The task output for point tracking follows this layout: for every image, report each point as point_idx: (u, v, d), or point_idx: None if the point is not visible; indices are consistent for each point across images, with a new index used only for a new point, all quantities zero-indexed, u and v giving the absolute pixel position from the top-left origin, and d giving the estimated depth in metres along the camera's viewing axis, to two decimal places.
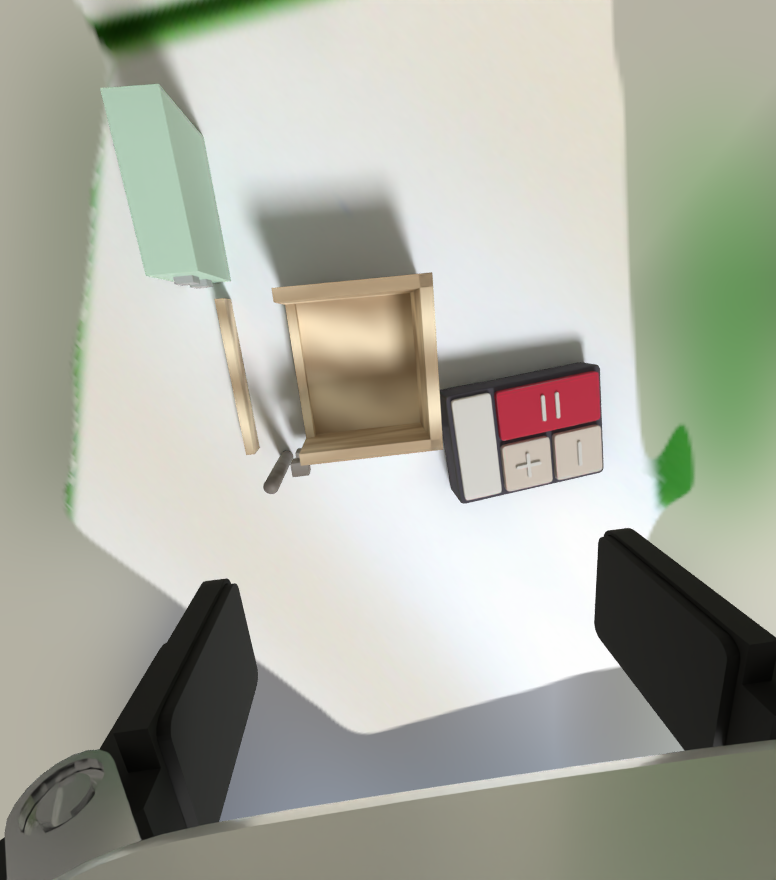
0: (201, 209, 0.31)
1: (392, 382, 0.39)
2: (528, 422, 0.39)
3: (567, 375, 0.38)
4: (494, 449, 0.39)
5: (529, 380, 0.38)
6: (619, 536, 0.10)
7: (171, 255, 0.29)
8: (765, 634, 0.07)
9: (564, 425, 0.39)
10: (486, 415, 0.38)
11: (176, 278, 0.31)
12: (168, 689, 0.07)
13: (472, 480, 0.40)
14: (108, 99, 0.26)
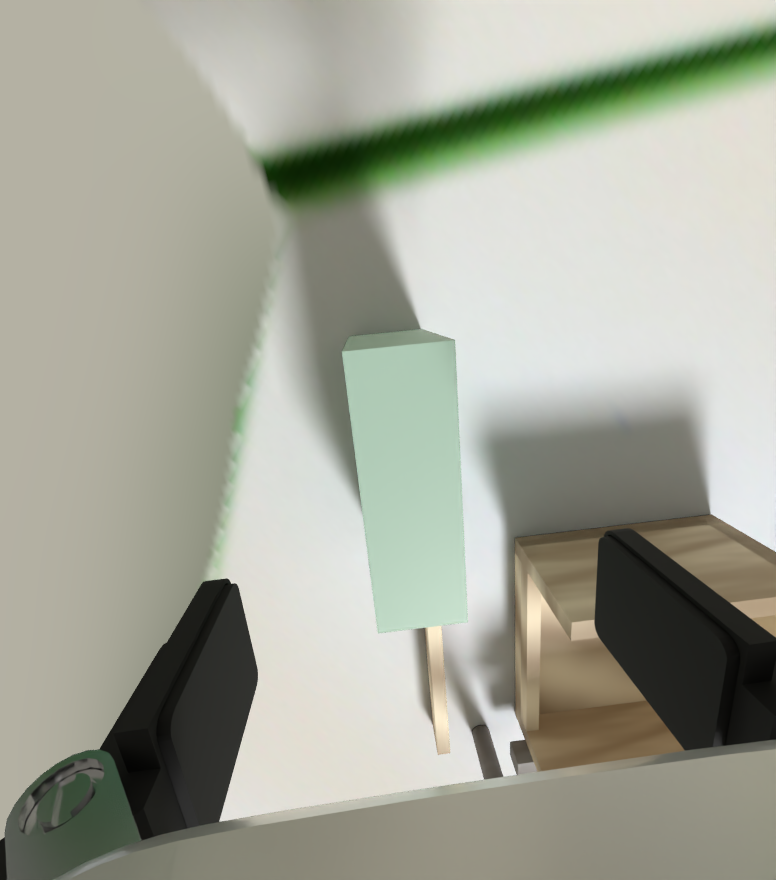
0: None
1: None
2: None
3: None
4: None
5: None
6: (619, 536, 0.10)
7: (427, 603, 0.16)
8: (765, 634, 0.07)
9: None
10: None
11: None
12: (168, 689, 0.07)
13: None
14: (354, 370, 0.13)
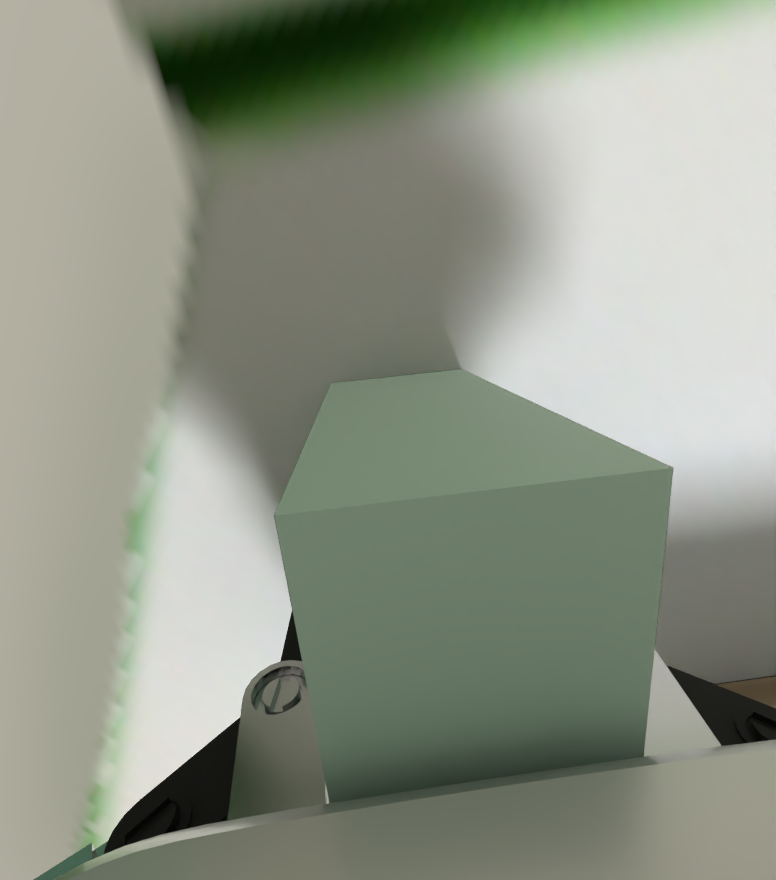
0: None
1: None
2: None
3: None
4: None
5: None
6: None
7: None
8: None
9: None
10: None
11: None
12: None
13: None
14: (322, 570, 0.04)
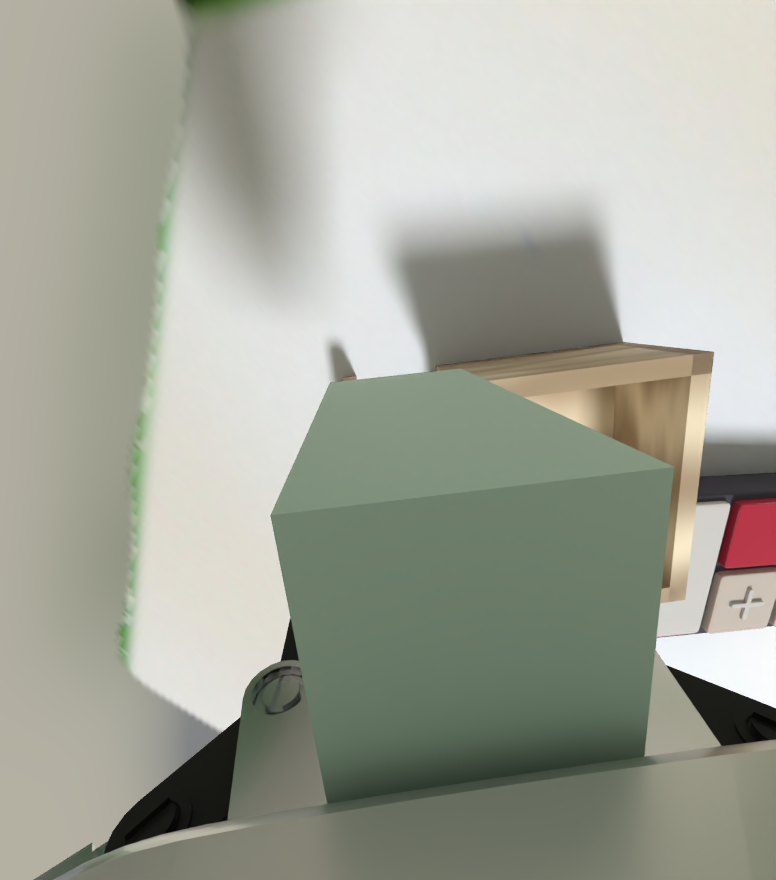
0: None
1: None
2: (766, 549, 0.27)
3: None
4: (709, 577, 0.28)
5: None
6: None
7: None
8: None
9: None
10: (715, 531, 0.27)
11: None
12: None
13: (667, 612, 0.28)
14: (319, 571, 0.04)
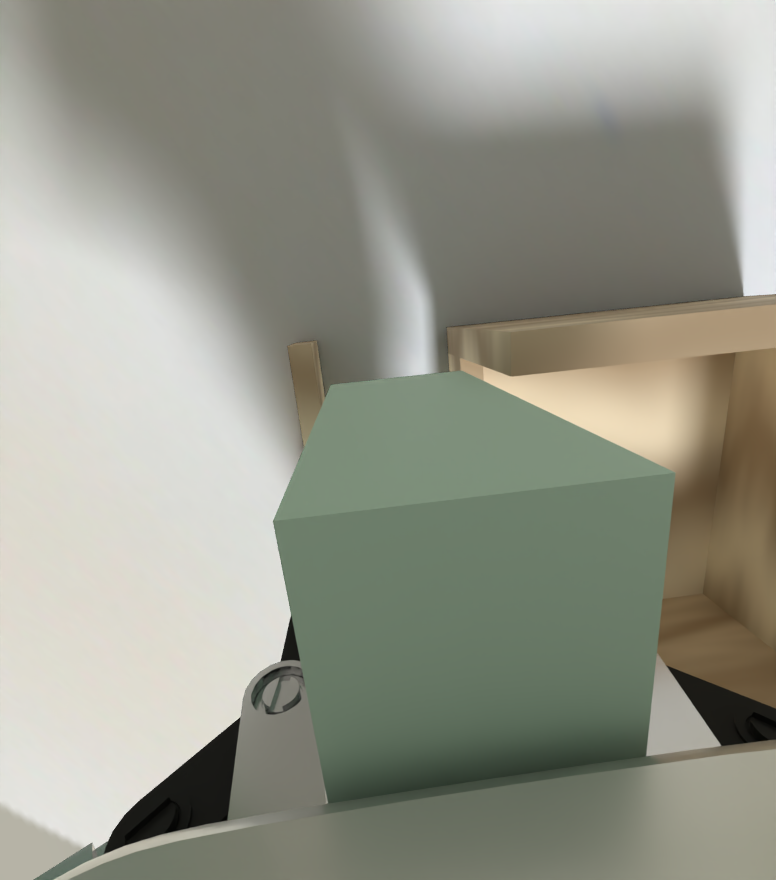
0: None
1: None
2: None
3: None
4: None
5: None
6: None
7: None
8: None
9: None
10: None
11: None
12: None
13: None
14: (322, 576, 0.04)
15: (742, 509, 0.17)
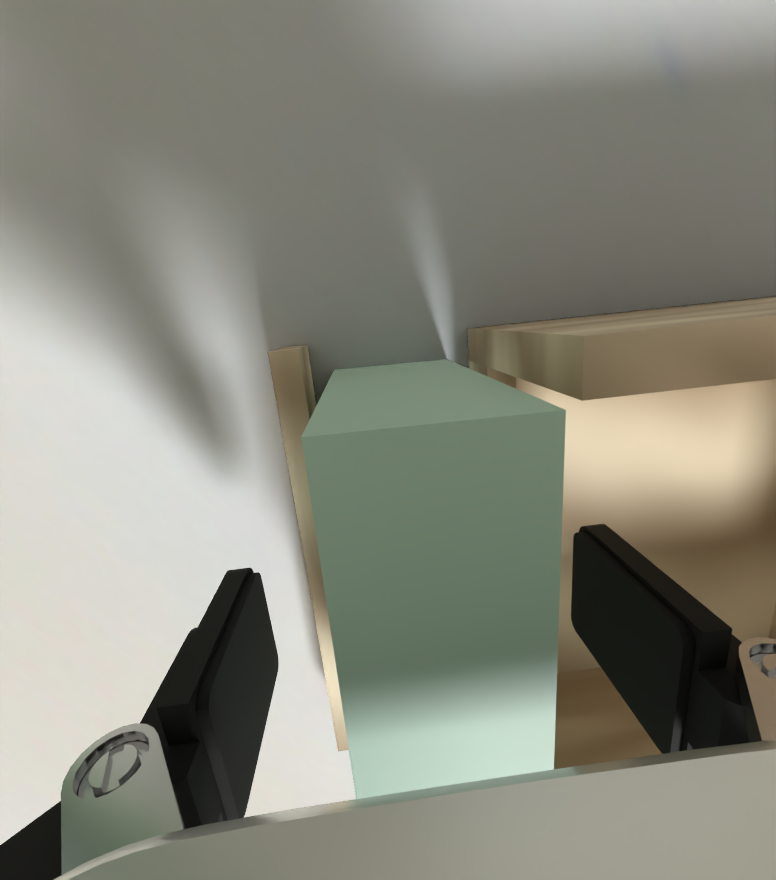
0: None
1: (724, 556, 0.15)
2: None
3: None
4: None
5: None
6: (592, 531, 0.10)
7: None
8: (719, 622, 0.07)
9: None
10: None
11: None
12: (204, 668, 0.07)
13: None
14: (332, 477, 0.06)
15: None
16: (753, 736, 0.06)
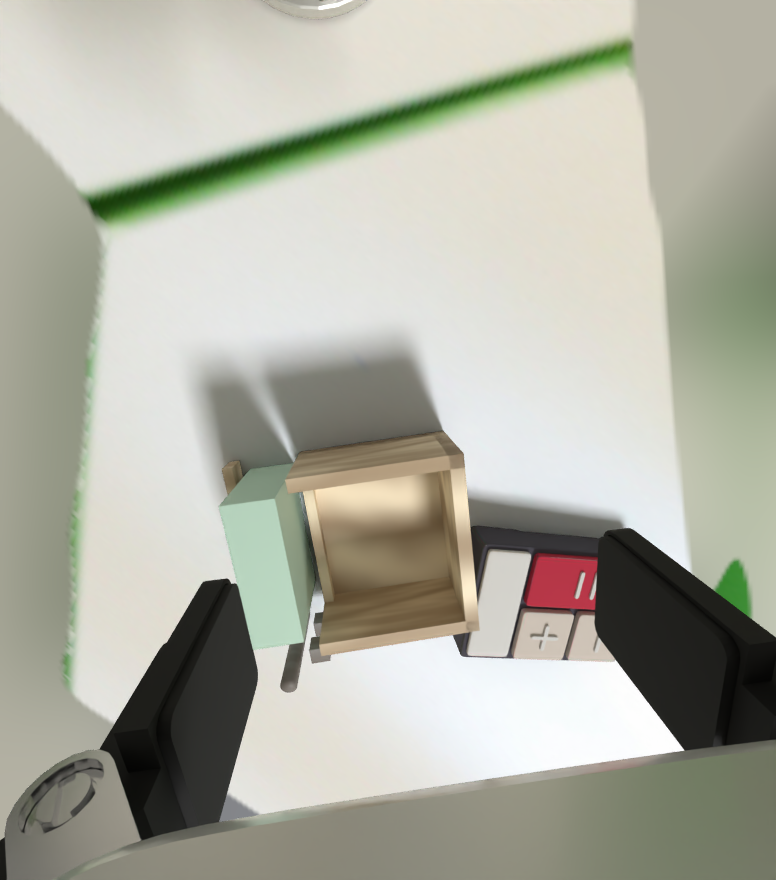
0: (299, 556, 0.32)
1: (417, 537, 0.36)
2: (559, 594, 0.35)
3: None
4: (515, 611, 0.35)
5: (575, 551, 0.35)
6: (619, 536, 0.10)
7: (279, 632, 0.29)
8: (765, 634, 0.07)
9: (593, 607, 0.36)
10: (519, 575, 0.34)
11: None
12: (168, 689, 0.07)
13: (481, 636, 0.36)
14: (226, 514, 0.27)
15: (446, 533, 0.34)
16: None
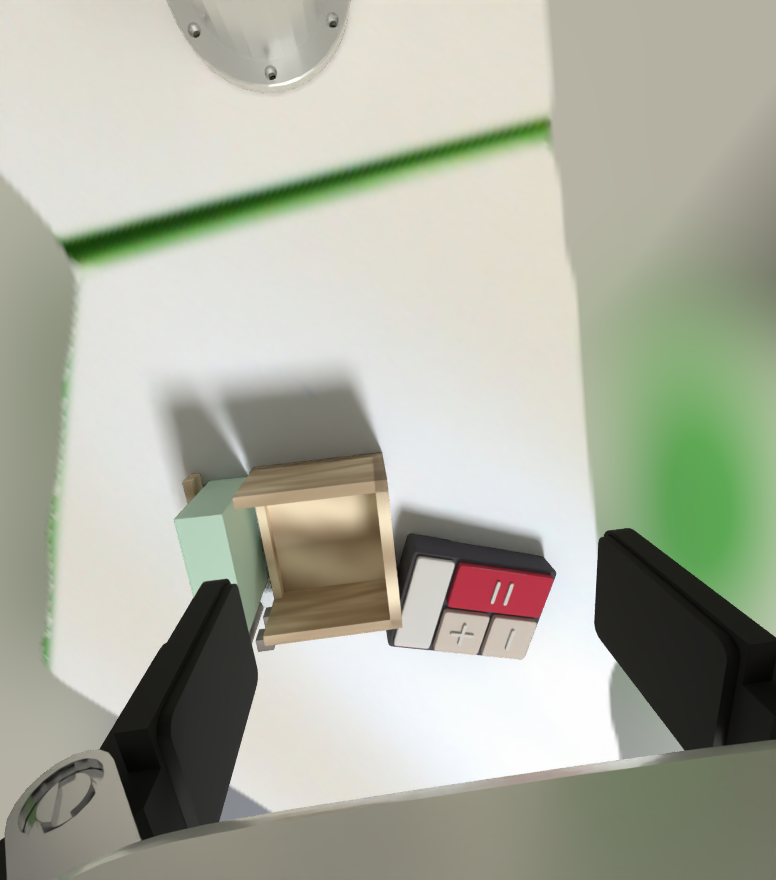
0: (249, 560, 0.37)
1: (357, 544, 0.41)
2: (477, 599, 0.40)
3: (527, 571, 0.41)
4: (438, 611, 0.40)
5: (494, 563, 0.40)
6: (619, 536, 0.10)
7: None
8: (765, 634, 0.07)
9: (507, 612, 0.41)
10: (443, 580, 0.40)
11: None
12: (168, 689, 0.07)
13: (407, 630, 0.41)
14: (179, 526, 0.31)
15: None
16: None
